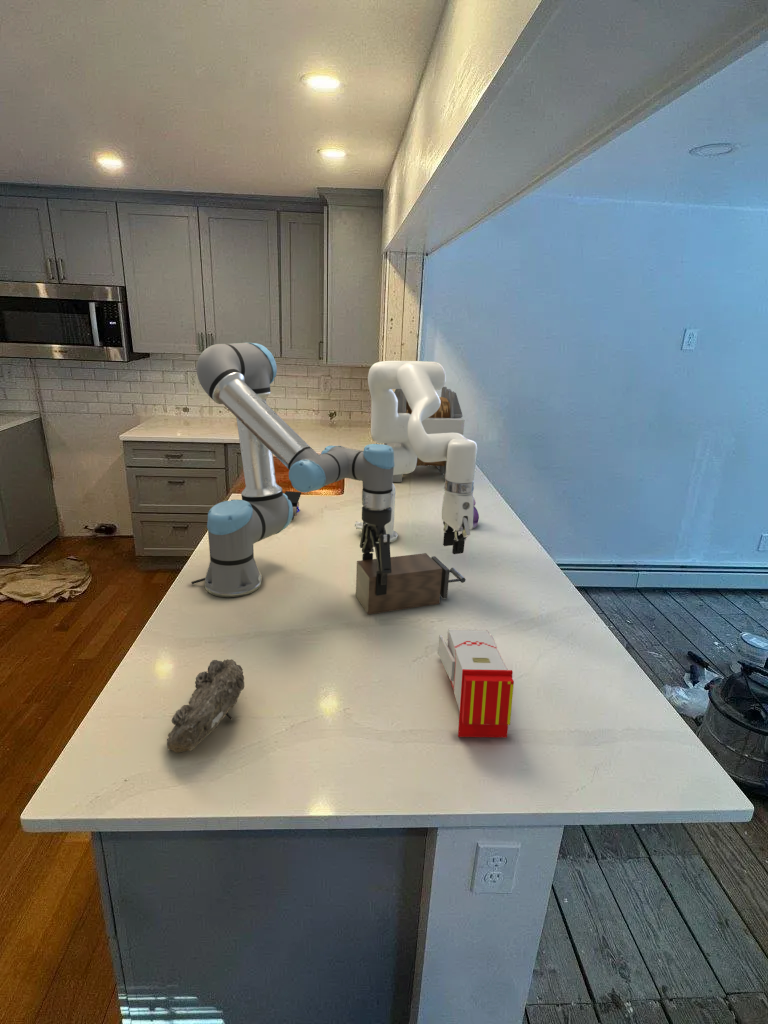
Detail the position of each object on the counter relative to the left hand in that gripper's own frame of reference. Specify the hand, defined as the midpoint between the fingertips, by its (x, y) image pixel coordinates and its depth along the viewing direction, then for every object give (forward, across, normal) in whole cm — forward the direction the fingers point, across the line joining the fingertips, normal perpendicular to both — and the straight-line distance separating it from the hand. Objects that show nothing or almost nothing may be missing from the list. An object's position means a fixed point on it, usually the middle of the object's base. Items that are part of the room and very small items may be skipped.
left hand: (373, 584), depth 150 cm
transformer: (+5, +115, -64) cm, 132 cm away
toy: (+6, -41, -7) cm, 42 cm away
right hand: (-8, 0, -23) cm, 24 cm away
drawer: (+5, 0, -13) cm, 14 cm away
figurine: (+6, +46, -53) cm, 70 cm away
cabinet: (+6, 0, -7) cm, 9 cm away
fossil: (+6, -33, +44) cm, 56 cm away
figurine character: (+6, +72, +8) cm, 72 cm away
